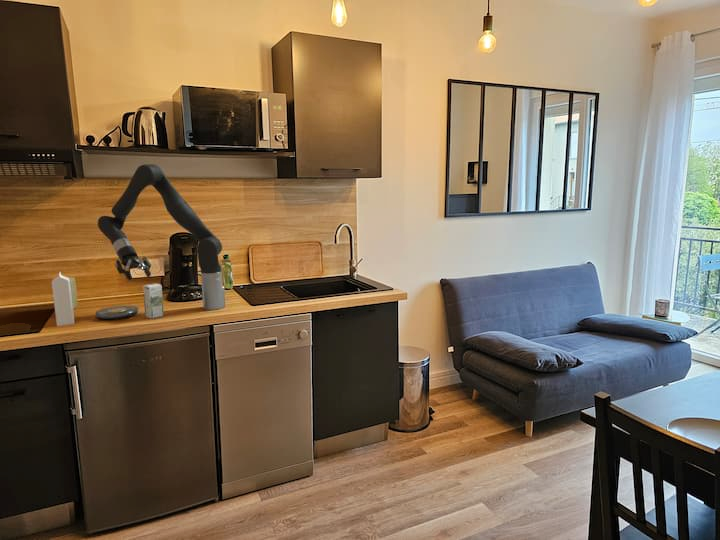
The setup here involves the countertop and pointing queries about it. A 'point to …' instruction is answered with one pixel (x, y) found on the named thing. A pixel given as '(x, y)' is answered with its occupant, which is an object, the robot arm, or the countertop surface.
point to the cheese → (72, 291)
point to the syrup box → (153, 300)
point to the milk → (63, 300)
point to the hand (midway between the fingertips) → (140, 277)
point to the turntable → (116, 312)
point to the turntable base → (117, 318)
